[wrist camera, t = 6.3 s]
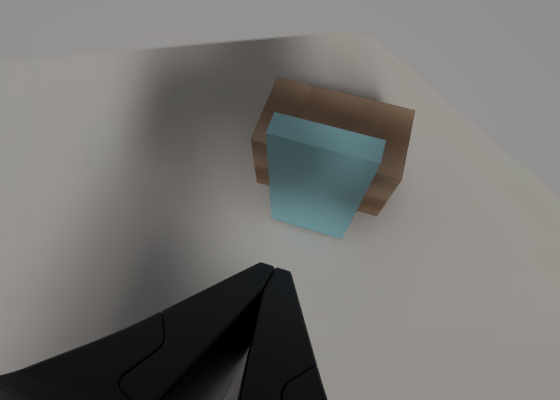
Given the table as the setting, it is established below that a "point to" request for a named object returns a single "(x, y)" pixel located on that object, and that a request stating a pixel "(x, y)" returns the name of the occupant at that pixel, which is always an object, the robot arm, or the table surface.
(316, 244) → the table surface
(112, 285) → the table surface
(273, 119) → the pale blue board
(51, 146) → the table surface
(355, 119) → the socket block
